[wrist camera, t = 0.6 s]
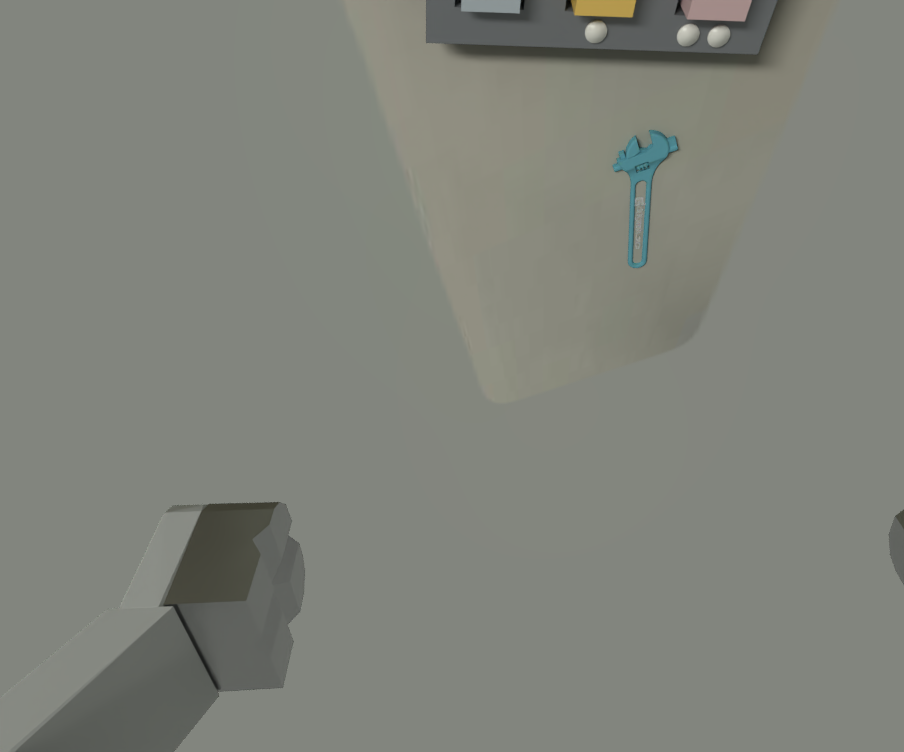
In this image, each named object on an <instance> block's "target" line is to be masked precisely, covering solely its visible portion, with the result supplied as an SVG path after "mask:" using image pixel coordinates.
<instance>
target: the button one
mask: <svg viewBox="0 0 904 752" xmlns="http://www.w3.org/2000/svg"><path fill="white" fill-rule="evenodd" d="M571 3H572V7H573V12H574V15H578V16H606V17H633V12H634V8H635V3H636V0H571Z"/></svg>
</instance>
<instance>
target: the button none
mask: <svg viewBox="0 0 904 752" xmlns="http://www.w3.org/2000/svg"><path fill="white" fill-rule="evenodd" d="M520 3H521V0H461V11H466V12H494V13H520Z"/></svg>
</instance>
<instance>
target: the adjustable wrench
mask: <svg viewBox="0 0 904 752" xmlns="http://www.w3.org/2000/svg"><path fill="white" fill-rule="evenodd" d="M649 132H650V136H651V139H652V143H653V144H650V145H649V146H648V147H647V148H641V147H638V143H637V139H636V136H634V137H633V138H632V139H631V140H630V141H629V143H628V145H627V147H626V152H625V154H626V155H625V154H624V150H622V151H619V156H620V157H619V158H617V164H614V165H613V168H614V171H615V172H616V171H619V170H624V171H625V172H627V173H628V174H629V176H630V180H631V193H630V220H629V247H628V264H629V266H631V267H633V268H639V267H642V266H643V265H644V264H645V263H646V261H647V245H648V230H649V214H650V198H651V183H652V177H653V174H654V172H655V169H656V168H657V166H658V165H659V164H660V163H661V162H662V161H663V160H664V159H665V158H666V157H667V156H668V153H670V152H673V151H676V150H678V147H677V143H676V139H675V136H672V137H669V138H666V137H665V135H664V134H662V133H661V132H659V131H655V130H649ZM620 159H621V160H620ZM648 166H650V167H649V168H648ZM644 167H646V169H645V168H644ZM641 168H642V169H643V170H641ZM636 170H639V171H638V172H636ZM639 181H646V183H647V184H646V201H645V203H643V197H639V198H635V186H636V183H637V182H639ZM640 199H641V205H645V217H644V233H643V249H642V261H641V262H640V263H633V261H632V260H633V235H634V210H635V206H639V205H640V201H638V204H636V203H637V200H640ZM638 208H639V207H638ZM638 208H637V212H638V213H639V210H638ZM641 208H642V207H641ZM640 210H643V211H644V209H640ZM637 212H636V213H637ZM636 213H635V215H636ZM638 213H637V215H640V216H643V215H642V212H641V214H638ZM638 218H641V217H637V220H636V218H635V220H636V221H637V222H640V225H637V224H639V223H636V227H635V228H636V231H640V232H638V233H641V231H642V230H640V229H641V221H638V220H641V219H642V218H641V219H638ZM638 227H640V229H637V228H638ZM638 233H636V234H638ZM639 238H640V235H639V237H638V239H637V235H636V241H640V239H639ZM636 244H639V247H637V246H636ZM635 246H636V249H639V248H640V242H635Z"/></svg>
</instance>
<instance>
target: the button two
mask: <svg viewBox="0 0 904 752" xmlns="http://www.w3.org/2000/svg"><path fill="white" fill-rule="evenodd" d="M751 2H752V0H681V2H680V5H681V7H682V10H683V12H684V14H685V16H686V18H687V19H691V20H719V21H745V19H746V16H747V13H748V10H749V7H750V5H751Z"/></svg>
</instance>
